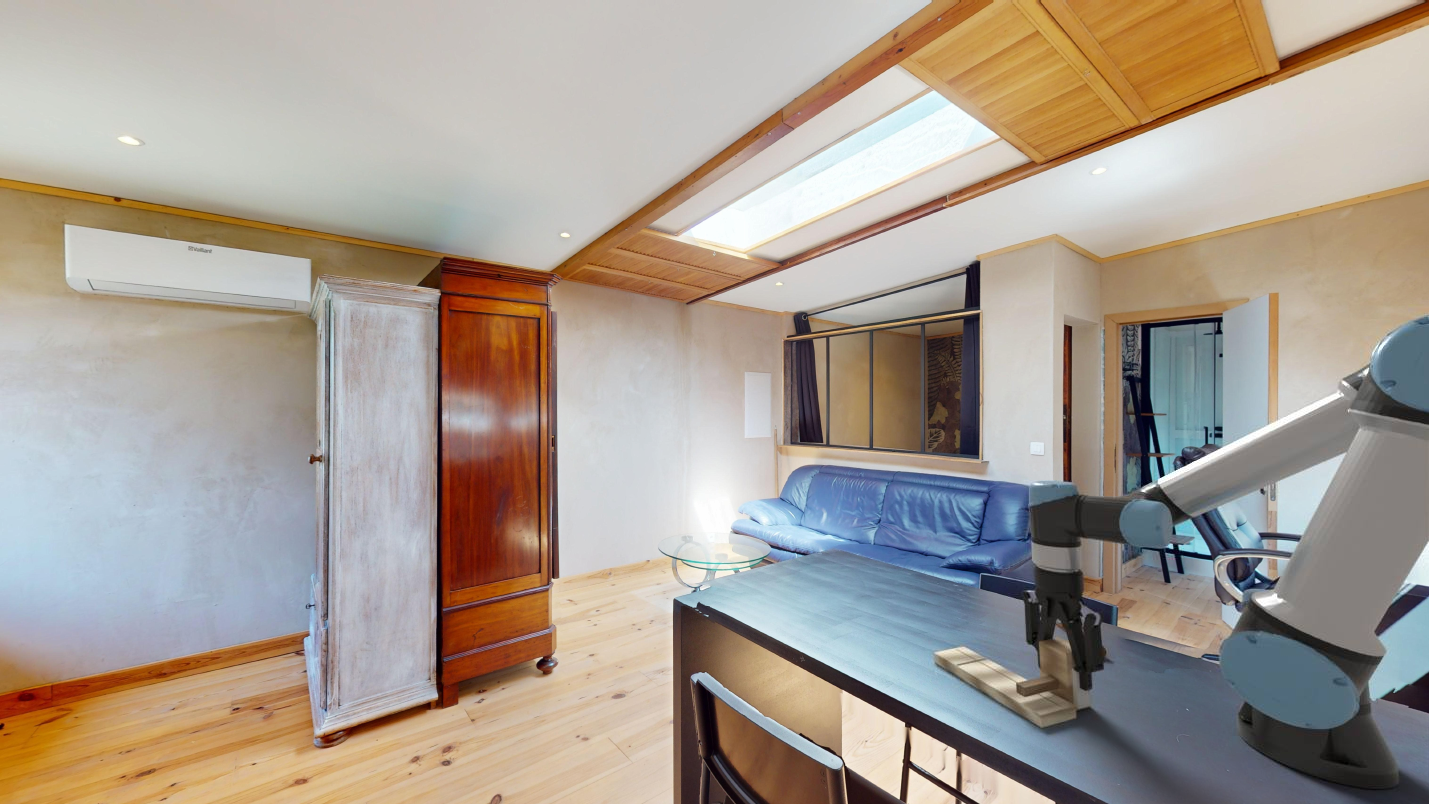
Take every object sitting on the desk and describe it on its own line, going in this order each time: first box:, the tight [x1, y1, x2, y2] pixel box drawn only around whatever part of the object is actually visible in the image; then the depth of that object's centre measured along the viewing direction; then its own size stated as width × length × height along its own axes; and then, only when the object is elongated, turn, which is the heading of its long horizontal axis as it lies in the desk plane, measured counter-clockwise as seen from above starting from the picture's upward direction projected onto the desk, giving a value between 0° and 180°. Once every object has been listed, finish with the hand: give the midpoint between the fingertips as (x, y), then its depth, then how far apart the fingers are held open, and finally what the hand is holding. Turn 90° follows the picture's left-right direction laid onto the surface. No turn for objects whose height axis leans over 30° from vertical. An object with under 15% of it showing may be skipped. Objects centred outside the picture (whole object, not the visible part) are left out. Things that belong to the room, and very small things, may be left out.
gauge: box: [1016, 637, 1091, 712], centre depth 86 cm, size 5×13×10 cm, turn 108°
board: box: [933, 646, 1077, 729], centre depth 92 cm, size 24×8×2 cm, turn 18°
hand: (1065, 697), depth 87 cm, fingers closed on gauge, 5 cm apart
